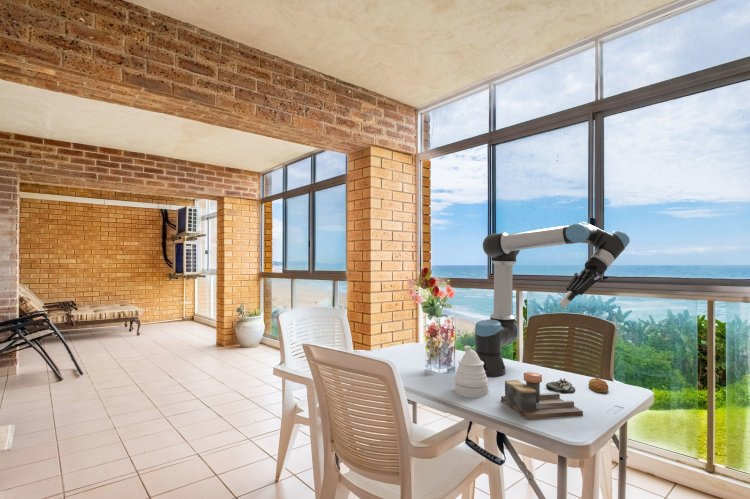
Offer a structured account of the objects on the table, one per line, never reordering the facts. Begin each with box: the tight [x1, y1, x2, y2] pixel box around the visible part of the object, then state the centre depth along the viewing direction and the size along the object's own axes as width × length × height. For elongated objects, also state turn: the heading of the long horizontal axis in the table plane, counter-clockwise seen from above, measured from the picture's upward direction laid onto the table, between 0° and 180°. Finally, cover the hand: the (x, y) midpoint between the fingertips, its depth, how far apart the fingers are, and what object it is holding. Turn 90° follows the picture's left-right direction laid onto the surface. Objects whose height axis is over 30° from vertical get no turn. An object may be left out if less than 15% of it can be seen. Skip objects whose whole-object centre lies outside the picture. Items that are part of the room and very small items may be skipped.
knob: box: [523, 371, 543, 403], centre depth 139 cm, size 6×6×10 cm
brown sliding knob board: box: [500, 379, 584, 421], centre depth 139 cm, size 18×20×8 cm
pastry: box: [587, 377, 609, 394], centre depth 158 cm, size 9×7×4 cm
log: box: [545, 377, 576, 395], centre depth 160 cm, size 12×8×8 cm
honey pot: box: [454, 345, 489, 398], centre depth 156 cm, size 13×13×18 cm
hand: (561, 305), depth 156 cm, fingers closed
